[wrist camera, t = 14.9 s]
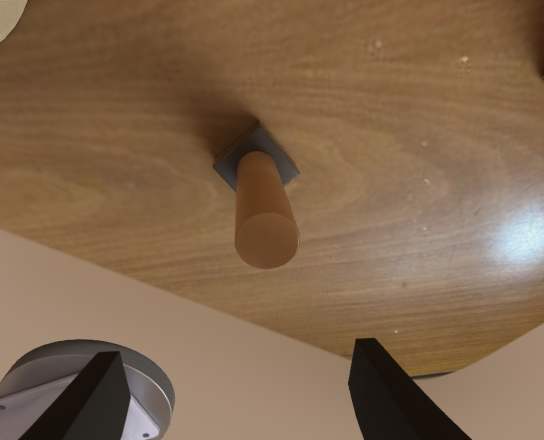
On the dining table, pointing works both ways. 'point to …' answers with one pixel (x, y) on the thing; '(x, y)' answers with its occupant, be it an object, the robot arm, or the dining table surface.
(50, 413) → the robot arm
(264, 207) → the wooden handle stamp
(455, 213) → the dining table surface
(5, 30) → the cream ceramic ramekin
